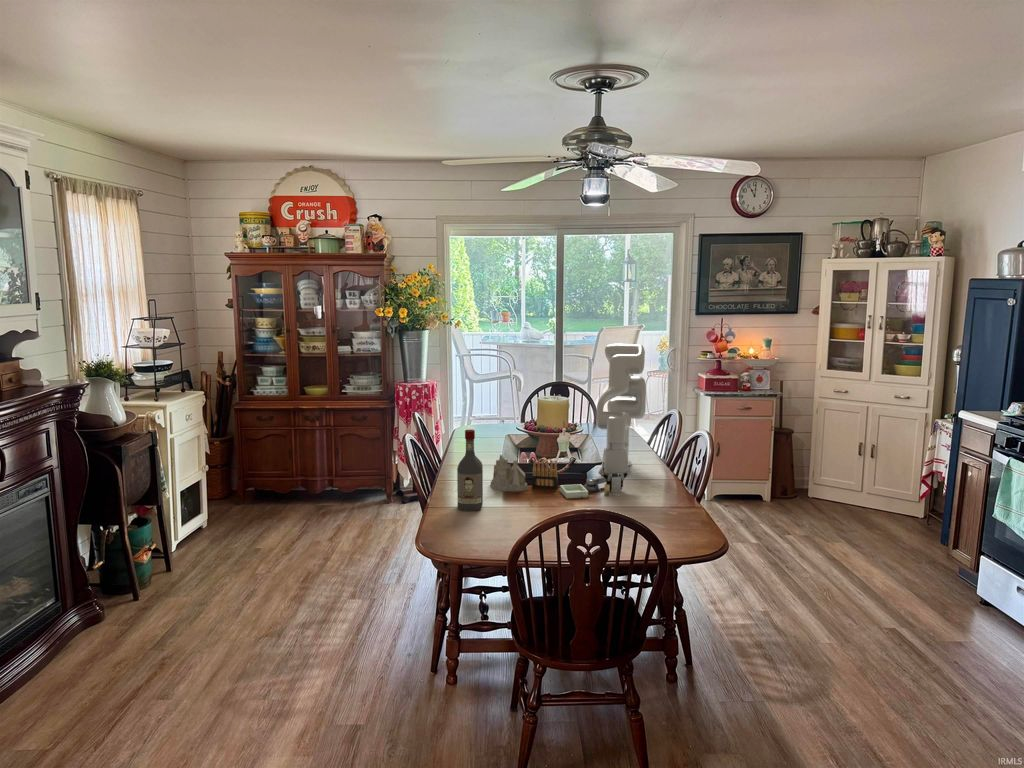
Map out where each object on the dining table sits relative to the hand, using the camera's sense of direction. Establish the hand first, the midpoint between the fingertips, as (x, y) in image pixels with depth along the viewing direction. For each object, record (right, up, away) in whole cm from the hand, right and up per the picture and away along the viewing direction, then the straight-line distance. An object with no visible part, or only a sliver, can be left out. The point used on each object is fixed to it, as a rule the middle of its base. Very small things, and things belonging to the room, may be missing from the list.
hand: (614, 488), depth 281 cm
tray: (-17, -2, -4) cm, 18 cm away
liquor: (-58, -4, -21) cm, 62 cm away
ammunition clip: (-28, 0, +4) cm, 29 cm away
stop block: (0, -1, 0) cm, 1 cm away
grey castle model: (-43, 0, +7) cm, 44 cm away
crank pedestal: (-5, -1, -2) cm, 6 cm away
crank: (-6, +2, +3) cm, 7 cm away
